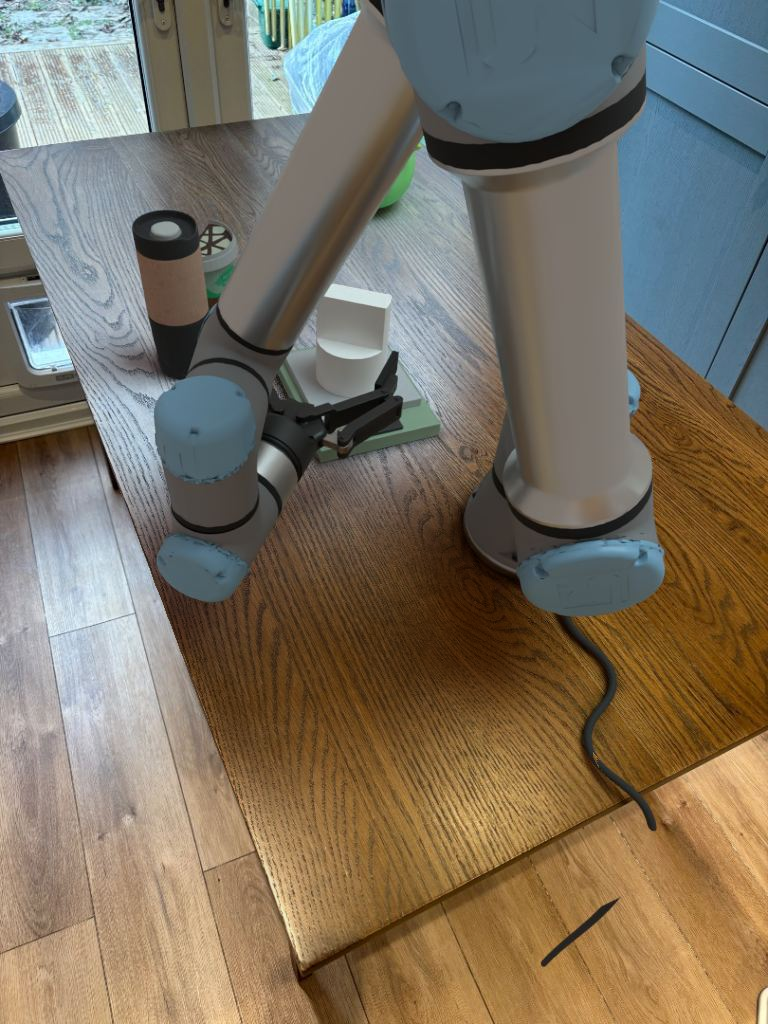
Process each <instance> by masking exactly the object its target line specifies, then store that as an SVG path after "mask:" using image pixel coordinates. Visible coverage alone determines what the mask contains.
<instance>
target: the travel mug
mask: <svg viewBox="0 0 768 1024" xmlns="http://www.w3.org/2000/svg"><path fill="white" fill-rule="evenodd" d="M131 230H132V237H133V243H134V247H135V253H136V259H137V264H138V270H139V275H140V281H141V286H142V291H143V298H144V302H145V308H146V312H147V318H148V321H149V326H150V330H151V333H152V334H151V335H152V338H153V339H152V340H153V343H154V347H155V352H156V356H157V360H158V364H159V367H160V370H161V371H162V372H163V374H165V375H166V376H168V377H170V378H173V379H176V380H183V379H185V377H186V375H187V373H188V370H189V367H190V364H191V361H192V358H193V355H194V351H195V348H196V345H197V342H198V341H197V338H198V334H199V332H200V329H201V327H202V324H203V322H204V320H205V318H206V316H207V315H208V313H209V308H208V300H207V293H206V285H205V278H204V270H203V263H202V256H201V248H200V241H199V236H200V233H199V227H198V223H197V221H196V219H195V218H194V217H193V216H192V215H190V214H189V213H186V212H184V211H180V210H175V209H157V210H152V211H149V212H145V213H143V214H141V215H139V216H138V217H136V218H135V219H134V220H133V222H132V225H131Z"/></svg>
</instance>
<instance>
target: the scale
mask: <svg viewBox="0 0 768 1024" xmlns="http://www.w3.org/2000/svg"><path fill="white" fill-rule="evenodd" d="M392 351H393V350H392V348H391V346H389V344H388V349H387V360H388V358H389V356H390V355H391V353H392ZM387 360H386V362H387ZM395 375H398V383H397V389H396V391H395V393H394V395H393V396H396V395H399V396H401V397H403V407H402V416H401V418H400V419H398V420H397V421H395V422H394V423H392V424H391V425H389V426H387V427H386V428H384V429H383V430H381V431H379V432H378V433H376V434H375V435H373V436H371V437H370V438H368V439H367V440H365V441H364V442H362V443H360V444H359V445H357V446H356V447H354V449H353V450H352V451H351V453H350V454H349V456H348V457H351V456H356V455H361V454H365V453H368V452H372V451H373V452H374V451H377V450H381V449H385V448H389V447H394V446H398V445H402V444H406V443H411V442H416V441H419V440H424V439H427V438H432V437H436V436H439V435H440V430H441V429H440V428H441V422H440V420H439V419H438V418H437V416H436V414H435V413H434V411H433V410H432V408H431V407H430V405H429V404H428V403H427V401H426V399H425V398H424V396H423V394H422V393H421V392H420V391H419V389H418V388H417V386H416V385H415V383H414V381H413V380H412V378H411V377H410V376H409V374H408V372H407V371H406V369H405V368H404V366H403V364H401V362H400V360H399V359H398V367H397V372H396V374H395ZM277 376H278V378H279V381H280V383H281V385H282V386H283V389H284V391H285V392H286V394H287V397H288V398H292V399H295V400H297V401H299V402H303V403H310V404H314V407H316V406H319V405H322V404H325V403H330V404H335V403H338V402H341V401H344V400H347V399H350V398H349V397H341V396H338V395H335V394H332V393H330V392H328V391H326V390H325V389H324V388H323V387H322V386H321V385H320V384H319V382H318V380H317V376H316V345H315V346H310V347H309V346H308V347H303V348H298V349H295V350H293V349H292V350H291V351H290V353H289V355H288V356H287V358H286V359H285V361H284V363H283V364H282V366H281V367H280V369H279V371H278V373H277ZM322 420H323V422H324V416H322ZM345 426H346V425H345ZM345 426H342V427H339V428H343V429H344V427H345ZM337 431H338V428H337V429H336V430H335V432H334V433H336V432H337ZM334 433H332V434H334ZM315 454H316V456H317V458H318V460H319V462H320V463H321V464H322V463H326V462H330V461H331V462H332V461H334V460H339V459H340V458H338V457H337V451H336V450H333V449H331V448H328V447H325V446H324V447H322V448H320V449H319V450H317V451H316V452H315Z"/></svg>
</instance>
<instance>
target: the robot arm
mask: <svg viewBox="0 0 768 1024" xmlns="http://www.w3.org/2000/svg"><path fill="white" fill-rule="evenodd" d="M358 1H359V6H360V10H359V11H360V12H359V13H358V16H357V18H356V20H355V22H354V24H353V26H352V28H351V30H350V32H349V35H348V36H347V39H346V40H345V42H344V44H343V46H342V48H341V50H340V52H339V54H338V56H337V58H336V61H335V62H334V64H333V66H332V69H331V70H330V72H329V75H328V77H327V78H326V80H325V83H324V84H323V86H322V89H321V91H320V93H319V95H318V97H317V99H316V101H315V103H314V105H313V107H312V109H311V111H310V113H309V115H308V117H307V119H306V121H305V123H304V125H303V127H302V129H301V132H300V133H299V135H298V137H297V139H296V141H295V143H294V145H293V148H292V149H291V151H290V153H289V155H288V158H287V159H286V162H285V163H284V166H283V168H282V169H281V172H280V174H279V176H278V178H277V180H276V182H275V184H274V186H273V188H272V189H271V192H270V193H269V196H268V198H267V200H266V202H265V204H264V206H263V208H262V210H261V212H260V214H259V216H258V218H257V220H256V222H255V224H254V227H253V228H252V230H251V232H250V234H249V237H248V238H247V241H246V242H245V245H244V247H243V248H242V251H241V252H240V255H239V257H238V259H237V261H236V263H235V264H234V269H233V271H232V273H231V275H230V277H229V279H228V281H227V283H226V285H225V287H224V289H223V291H222V293H221V295H220V298H219V301H218V303H216V304H215V305H214V306H213V307H212V309H211V310H210V312H209V313H208V315H207V316H206V318H205V320H204V322H203V324H202V327H201V329H200V332H199V334H198V338H197V341H198V342H197V345H196V348H195V351H194V355H193V358H192V361H191V364H190V367H189V370H188V373H187V375H186V377H185V379H179V381H176V382H175V383H173V384H172V386H171V388H170V389H168V390H166V391H163V392H162V393H161V394H160V395H159V397H158V398H157V400H156V401H155V405H154V409H153V411H154V412H153V422H154V430H155V433H154V443H155V446H156V453H157V454H158V456H159V458H160V459H159V460H160V462H161V467H162V471H163V475H164V479H165V483H166V488H167V492H168V497H169V500H170V501H169V502H170V511H171V515H172V520H173V526H172V527H173V528H172V530H171V531H170V532H169V533H168V534H166V536H165V537H164V541H163V543H162V545H161V546H160V549H159V550H158V552H157V556H156V566H157V569H158V571H159V573H160V575H161V576H162V578H163V579H164V580H165V581H166V582H167V584H169V585H170V586H171V587H172V588H173V589H175V590H176V591H178V592H179V593H181V594H183V595H184V596H186V597H189V598H191V599H195V600H198V601H200V602H205V603H220V602H223V601H225V600H228V599H229V598H230V597H231V596H232V595H234V593H235V592H236V590H237V588H239V586H240V584H241V583H242V581H243V580H244V578H245V577H246V575H249V573H251V570H252V569H251V567H252V565H253V564H254V561H256V558H257V556H258V554H259V553H260V551H261V549H262V547H263V545H264V544H265V542H266V541H267V538H268V537H269V535H270V533H271V531H272V530H273V528H274V527H275V524H276V522H277V521H278V518H279V517H280V515H281V514H282V512H283V511H284V509H285V507H286V505H287V503H288V502H289V500H290V498H291V496H292V495H293V493H294V491H295V489H296V488H297V486H298V483H299V482H300V481H301V480H302V479H303V476H304V474H305V473H306V471H307V469H308V467H309V465H310V464H311V462H312V461H313V458H314V457H315V454H316V451H317V450H319V449H320V448H322V447H324V446H325V447H328V448H331V449H333V450H336V451H337V457H338V458H339V459H341V460H344V459H347V458H348V457H350V456H349V454H350V453H351V451H352V450H353V449H354V447H356V446H357V445H359V444H360V443H362V442H364V441H365V440H367V439H368V438H370V437H371V436H373V435H375V434H376V433H378V432H379V431H381V430H383V429H384V428H386V427H387V426H389V425H391V424H392V423H394V422H395V421H397V420H398V419H400V418H401V416H402V407H403V397H401V396H399V395H396V396H393V395H394V393H395V391H396V389H397V383H398V375H395V374H396V372H397V367H398V360H399V355H400V352H399V351H397V350H392V353H391V355H390V356H389V358H388V360H387V362H386V364H385V366H384V367H383V369H382V371H381V373H380V375H379V376H378V378H377V380H376V382H375V385H374V391H371V392H368V393H365V394H362V395H359V396H356V397H353V398H350V399H347V400H344V401H341V402H338V403H335V404H330V403H325V404H322V405H319V406H316V407H314V404H310V403H303V402H299V401H297V400H295V399H292V398H289V397H288V396H287V397H286V398H280V396H279V393H278V392H277V389H276V388H275V387H274V383H275V379H276V377H277V376H278V374H277V373H278V371H279V369H280V367H281V366H282V364H283V363H284V361H285V359H286V358H287V356H288V355H289V353H290V351H292V350H293V348H294V346H295V345H296V343H297V340H299V337H300V335H301V334H302V333H303V331H304V329H305V328H306V326H307V324H308V323H309V321H310V320H311V318H312V317H313V314H314V313H315V312H316V308H317V306H318V305H319V303H320V302H321V300H322V298H323V297H324V295H325V294H326V292H327V290H328V289H329V287H330V286H331V284H332V283H333V282H334V281H335V279H336V277H337V276H338V274H339V273H340V271H341V270H342V269H343V266H344V265H345V263H346V262H347V260H348V258H349V257H350V255H351V253H352V252H353V251H354V249H355V247H356V245H357V244H358V242H359V240H360V239H361V237H362V236H363V234H364V233H365V231H366V229H367V228H368V226H369V224H370V223H371V221H372V220H373V218H374V216H375V214H376V213H377V212H378V210H379V209H380V208H379V207H380V205H381V203H382V202H383V200H384V199H385V197H386V195H387V194H388V192H389V191H390V189H391V187H392V186H393V184H394V183H395V181H396V179H397V178H398V176H399V174H400V173H401V171H402V170H403V168H404V166H405V165H406V163H407V162H408V160H409V158H410V157H411V155H412V154H413V152H414V153H415V151H414V150H415V149H416V147H417V146H418V144H419V143H420V142H421V141H422V139H424V144H425V148H426V153H427V156H428V158H429V159H430V160H431V162H432V163H433V164H434V165H435V166H437V167H438V168H440V169H442V170H443V171H445V172H447V173H450V174H451V175H453V176H455V177H456V178H458V179H460V180H461V185H462V189H463V190H462V191H463V195H464V200H465V205H466V210H467V216H468V220H469V225H470V226H469V227H470V231H471V235H472V240H473V245H474V251H475V255H476V260H477V265H478V270H479V275H480V280H481V286H482V290H483V295H484V299H485V305H486V309H487V315H488V320H489V324H490V325H489V326H490V329H491V330H490V331H491V335H492V340H493V345H494V350H495V355H496V360H497V365H498V369H499V375H500V379H501V383H502V390H503V395H504V401H505V405H506V409H505V413H504V418H503V422H502V425H501V429H500V435H499V438H498V442H497V446H496V450H495V453H494V458H493V461H492V462H493V463H492V466H491V468H490V469H489V470H488V471H487V472H486V474H485V475H484V476H483V478H481V481H480V482H479V483H478V484H477V485H476V486H475V488H474V489H473V490H472V492H471V494H470V495H469V497H468V499H467V502H466V505H465V509H464V513H463V519H462V527H463V533H464V536H465V539H466V541H467V544H468V545H469V547H470V549H471V550H472V551H473V553H474V554H475V555H476V556H477V558H479V560H481V561H482V562H483V563H484V564H485V565H487V566H488V567H489V568H490V569H492V570H494V571H495V572H497V573H499V574H501V575H503V576H505V577H508V578H511V579H514V580H517V581H519V583H520V589H521V592H522V594H523V595H524V598H526V600H527V601H528V602H529V603H531V604H532V605H533V606H534V607H536V608H538V609H539V610H541V611H544V612H547V613H552V614H557V615H559V616H562V619H563V622H564V624H565V625H566V627H567V629H568V630H569V632H570V634H572V635H573V636H574V638H575V639H576V640H577V641H578V642H579V643H580V644H581V645H583V646H584V647H585V648H586V649H587V650H588V651H589V652H591V653H592V654H593V655H594V656H595V657H596V659H598V660H599V662H601V663H602V665H603V667H604V669H605V671H606V674H607V676H608V687H607V691H606V694H605V696H604V697H603V698H602V699H601V701H600V703H598V705H597V706H596V708H595V709H594V711H592V713H591V714H590V715H589V716H588V719H587V720H586V723H585V725H584V728H583V735H582V736H583V737H582V739H583V746H584V749H585V751H586V754H587V756H588V758H589V760H590V761H591V763H592V764H593V765H594V767H595V768H596V769H597V770H599V772H600V773H601V774H602V775H603V776H605V778H607V777H608V778H609V779H608V778H607V779H608V780H609V781H610V782H612V783H613V782H614V783H613V784H614V785H615V786H617V787H618V786H619V787H618V788H619V789H621V790H622V791H623V792H624V793H626V795H628V796H629V797H630V798H631V799H632V800H633V801H634V802H635V804H637V806H638V807H639V809H640V811H641V812H642V814H643V816H644V818H645V823H646V826H647V828H648V829H649V830H650V831H651V832H656V831H657V828H658V826H657V821H656V818H655V815H654V813H653V810H652V808H651V806H650V805H649V803H648V802H647V801H646V799H645V798H644V797H643V796H642V795H641V794H640V793H639V792H638V791H637V790H636V789H635V788H634V787H633V786H632V785H631V784H629V783H628V782H627V781H626V780H624V779H623V778H622V777H620V776H619V775H618V774H616V773H615V772H614V771H613V770H611V769H610V768H609V767H608V766H607V765H606V764H605V763H604V762H603V761H602V760H601V759H600V758H599V756H598V754H597V752H596V749H595V747H594V745H593V744H594V743H593V731H594V727H595V725H596V724H597V722H598V720H599V718H600V717H601V716H602V714H604V712H605V710H606V709H607V708H608V707H609V705H610V704H611V703H612V702H613V699H614V697H615V695H616V692H617V689H618V688H617V687H618V680H617V678H618V677H617V673H616V670H615V668H614V666H613V664H612V662H611V661H610V660H609V658H608V657H607V656H606V655H605V653H604V652H602V650H601V649H600V648H599V647H597V646H596V645H595V644H594V643H592V642H591V641H590V640H589V639H588V638H587V637H586V636H585V635H584V634H582V633H581V631H580V630H579V629H578V628H577V626H576V625H575V624H574V622H573V620H572V618H571V617H576V618H577V617H580V618H581V617H596V616H597V617H598V616H603V615H609V614H614V613H617V612H621V611H624V610H627V609H630V608H632V607H634V606H635V605H636V604H639V603H642V602H644V601H645V600H647V599H648V598H649V597H651V596H652V595H653V594H654V593H655V592H656V591H657V590H658V589H659V588H660V587H661V585H662V583H663V581H664V579H665V575H666V574H665V573H666V567H665V562H664V561H665V560H664V559H665V556H666V555H665V550H664V548H663V547H662V546H661V544H660V542H659V538H658V533H657V528H656V522H655V515H654V481H653V480H654V479H653V478H654V477H653V474H654V473H653V470H654V469H653V461H652V456H651V454H650V451H649V449H648V448H647V447H646V445H645V443H643V441H642V440H641V439H640V438H639V437H637V435H635V434H634V433H632V432H631V422H632V420H633V417H634V415H635V414H636V413H637V411H638V410H639V407H640V402H639V401H640V398H641V394H642V393H641V392H642V391H641V385H640V383H639V380H638V378H636V376H635V374H633V372H632V371H631V370H629V369H628V356H627V355H628V353H627V352H628V351H627V329H626V309H625V304H626V303H625V285H624V266H623V265H624V264H623V263H624V262H623V261H624V260H623V259H624V258H623V240H622V218H621V215H622V214H621V197H620V196H621V194H620V193H621V192H620V173H619V171H620V170H619V152H618V151H619V150H618V142H619V141H620V140H621V138H623V136H624V135H625V134H626V133H627V132H628V131H629V130H630V129H631V127H632V126H633V125H634V124H636V122H637V120H639V119H640V117H641V115H642V114H643V112H644V110H645V107H646V104H647V42H646V41H647V40H648V38H649V35H650V33H651V29H652V27H653V25H654V22H655V18H656V15H657V12H658V8H659V5H660V0H358ZM322 416H324V422H323V420H322ZM345 425H346V426H345ZM342 426H345V427H344V429H343V428H339V427H342ZM337 428H338V431H337V432H336V433H334V432H335V430H336V429H337ZM332 433H334V434H332ZM593 752H594V754H595V755H596V756H597V757H598V758H599V759H600V760H599V759H598V758H597V759H598V760H597V761H598V762H597V764H598V765H599V768H598V766H597V764H596V762H595V760H594V758H593ZM601 770H602V771H601ZM602 772H603V773H604V774H605V775H604V774H603V773H602ZM620 899H621V897H616V898H615V899H613V900H611V901H609V902H607V903H604V904H603V905H600V906H599V908H598V909H597V910H595V912H594V913H593V914H592V915H591V916H590V917H588V918H587V919H586V920H585V921H584V922H583V923H582V924H580V925H579V926H578V927H577V928H576V929H575V930H574V931H572V932H571V933H569V935H567V936H566V937H565V938H564V939H563V940H562V941H561V942H560V943H558V944H557V945H556V946H555V947H554V948H553V949H552V950H551V951H550V952H548V954H547V955H545V957H544V958H542V960H540V966H541V967H543V968H545V967H547V966H548V964H550V963H551V962H552V961H553V960H554V959H555V958H556V957H557V956H558V955H559V954H560V953H562V952H563V951H564V950H565V949H566V948H567V947H569V946H570V945H571V944H572V943H574V942H575V941H577V940H578V939H579V938H580V937H581V936H583V935H584V934H585V933H586V932H587V931H589V930H590V929H591V928H592V927H593V926H594V925H596V923H598V922H599V921H600V920H601V919H602V918H603V917H604V916H605V915H606V914H608V912H610V911H611V910H612V908H613V907H614V906H615V905H616V904H617V903H618V901H619V900H620Z"/></svg>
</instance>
